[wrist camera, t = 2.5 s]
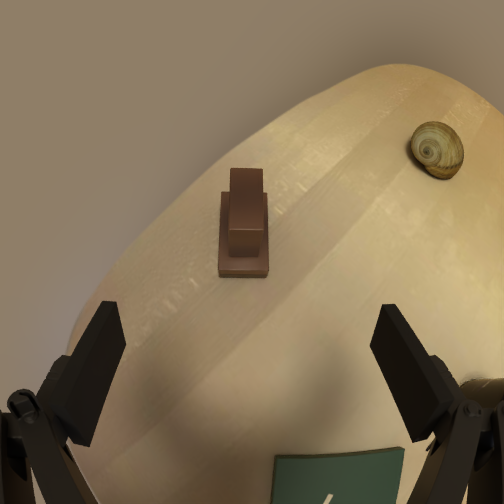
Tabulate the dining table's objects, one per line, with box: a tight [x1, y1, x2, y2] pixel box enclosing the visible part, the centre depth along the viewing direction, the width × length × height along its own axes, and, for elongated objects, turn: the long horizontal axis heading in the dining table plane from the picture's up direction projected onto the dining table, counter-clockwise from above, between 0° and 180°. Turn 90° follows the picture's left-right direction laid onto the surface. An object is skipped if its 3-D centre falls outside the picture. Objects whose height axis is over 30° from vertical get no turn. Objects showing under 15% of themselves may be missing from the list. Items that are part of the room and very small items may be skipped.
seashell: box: [411, 121, 464, 179], centre depth 36 cm, size 10×7×8 cm
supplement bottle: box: [460, 378, 504, 408], centre depth 21 cm, size 7×7×12 cm
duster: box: [218, 168, 269, 278], centre depth 28 cm, size 8×4×8 cm, turn 0°
